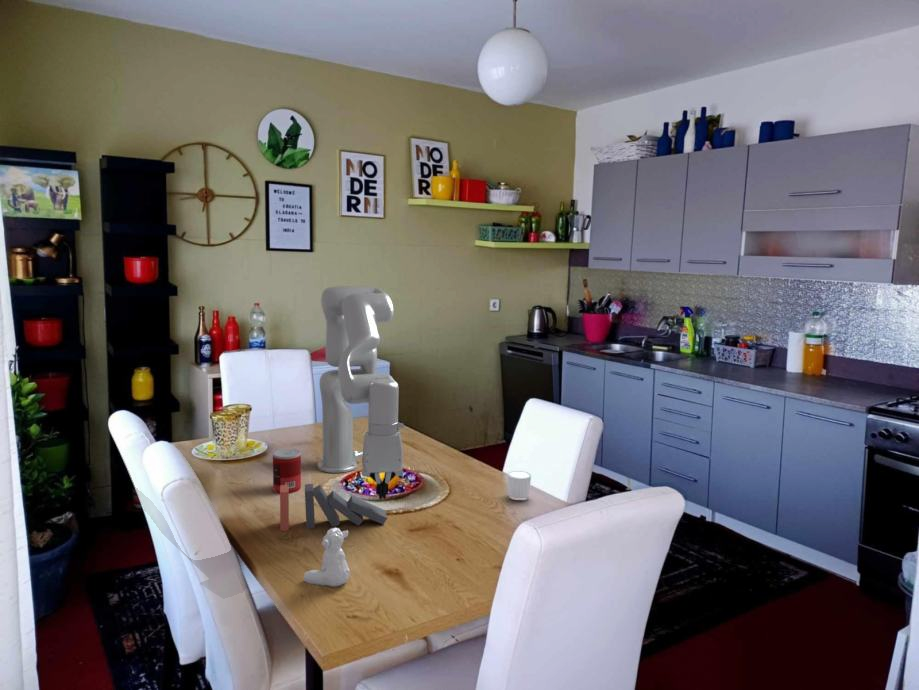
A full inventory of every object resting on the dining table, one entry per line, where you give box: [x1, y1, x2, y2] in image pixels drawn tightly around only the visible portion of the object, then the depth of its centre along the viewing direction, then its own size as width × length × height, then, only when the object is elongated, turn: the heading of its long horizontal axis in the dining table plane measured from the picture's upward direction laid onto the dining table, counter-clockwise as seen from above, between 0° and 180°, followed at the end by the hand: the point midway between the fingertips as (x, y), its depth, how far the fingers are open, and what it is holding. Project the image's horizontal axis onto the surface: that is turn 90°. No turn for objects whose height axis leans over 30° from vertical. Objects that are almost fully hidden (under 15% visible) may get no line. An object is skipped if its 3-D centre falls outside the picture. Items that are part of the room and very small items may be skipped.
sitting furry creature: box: [303, 527, 351, 588], centre depth 142 cm, size 10×9×12 cm
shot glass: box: [507, 470, 532, 498], centre depth 193 cm, size 7×7×7 cm
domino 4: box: [347, 494, 388, 525], centre depth 173 cm, size 2×5×10 cm
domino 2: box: [313, 483, 341, 528], centre depth 171 cm, size 2×5×10 cm, turn 11°
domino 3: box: [327, 490, 364, 527], centre depth 172 cm, size 2×5×10 cm
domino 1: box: [304, 483, 316, 530], centre depth 170 cm, size 2×5×10 cm, turn 12°
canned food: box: [272, 448, 302, 494], centre depth 194 cm, size 8×8×11 cm
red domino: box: [279, 485, 290, 532], centre depth 168 cm, size 2×5×10 cm, turn 14°
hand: (382, 496), depth 173 cm, fingers closed
